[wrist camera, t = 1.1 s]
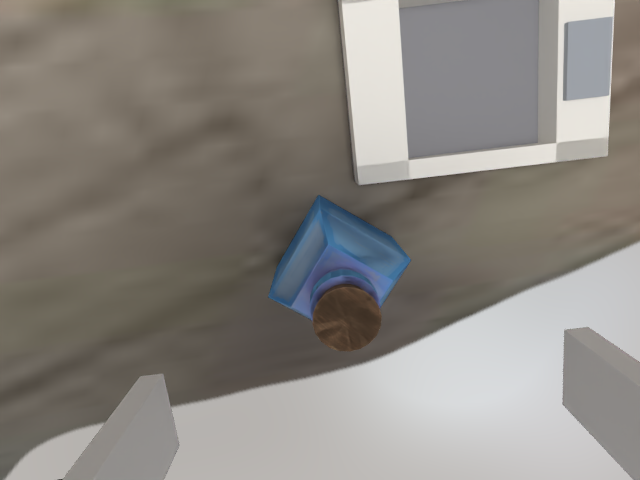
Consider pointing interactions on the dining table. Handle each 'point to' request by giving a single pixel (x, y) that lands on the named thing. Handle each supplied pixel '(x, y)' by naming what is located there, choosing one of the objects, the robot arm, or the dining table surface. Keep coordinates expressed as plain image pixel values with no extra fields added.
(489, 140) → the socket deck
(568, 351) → the robot arm
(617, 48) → the dining table surface
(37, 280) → the dining table surface
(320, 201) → the perfume bottle
